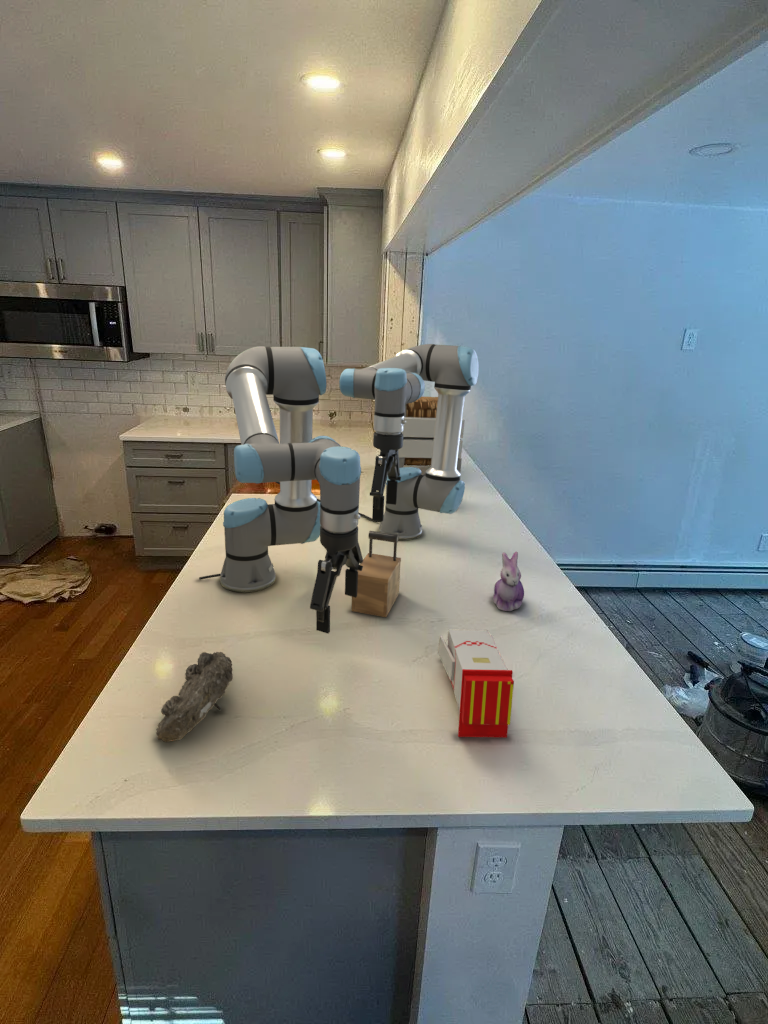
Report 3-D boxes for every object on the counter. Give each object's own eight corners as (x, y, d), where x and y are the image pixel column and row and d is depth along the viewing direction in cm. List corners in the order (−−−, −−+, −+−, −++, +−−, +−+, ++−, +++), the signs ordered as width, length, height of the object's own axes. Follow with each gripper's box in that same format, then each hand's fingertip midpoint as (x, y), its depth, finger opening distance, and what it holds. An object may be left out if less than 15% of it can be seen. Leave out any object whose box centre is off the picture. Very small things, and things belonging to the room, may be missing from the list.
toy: (488, 613, 130) (523, 677, 101) (484, 667, 133) (517, 744, 104) (435, 612, 130) (455, 676, 101) (432, 666, 133) (451, 743, 103)
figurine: (506, 615, 149) (513, 563, 144) (482, 598, 157) (488, 548, 152) (534, 608, 153) (541, 558, 148) (509, 592, 161) (516, 543, 156)
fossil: (183, 653, 120) (233, 621, 115) (215, 683, 122) (265, 653, 117) (132, 735, 100) (190, 701, 95) (171, 768, 103) (229, 737, 98)
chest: (366, 588, 160) (367, 557, 157) (398, 593, 158) (400, 562, 155) (351, 611, 148) (352, 577, 145) (386, 617, 146) (387, 583, 142)
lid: (368, 556, 157) (369, 527, 154) (401, 561, 155) (402, 532, 152) (352, 577, 145) (353, 546, 142) (387, 583, 142) (389, 552, 139)
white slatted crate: (382, 463, 289) (386, 382, 275) (445, 464, 293) (451, 384, 279) (390, 482, 257) (394, 392, 243) (460, 483, 261) (468, 394, 247)
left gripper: (327, 560, 100) (327, 653, 110) (380, 504, 121) (376, 586, 130) (290, 550, 102) (293, 642, 112) (348, 496, 123) (346, 578, 133)
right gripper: (390, 443, 130) (386, 529, 137) (413, 424, 152) (409, 499, 160) (359, 440, 131) (356, 525, 139) (386, 422, 154) (383, 496, 161)
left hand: (337, 612), depth 121 cm, fingers open, 13 cm apart
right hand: (384, 511), depth 149 cm, fingers open, 13 cm apart
